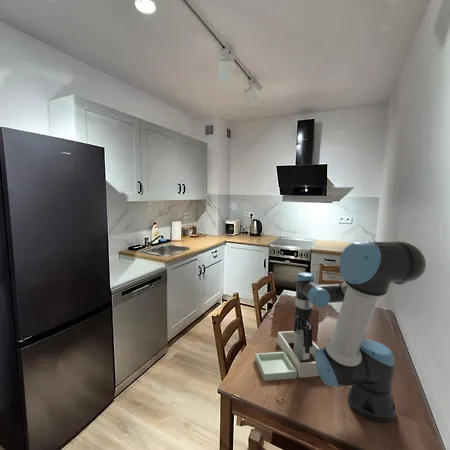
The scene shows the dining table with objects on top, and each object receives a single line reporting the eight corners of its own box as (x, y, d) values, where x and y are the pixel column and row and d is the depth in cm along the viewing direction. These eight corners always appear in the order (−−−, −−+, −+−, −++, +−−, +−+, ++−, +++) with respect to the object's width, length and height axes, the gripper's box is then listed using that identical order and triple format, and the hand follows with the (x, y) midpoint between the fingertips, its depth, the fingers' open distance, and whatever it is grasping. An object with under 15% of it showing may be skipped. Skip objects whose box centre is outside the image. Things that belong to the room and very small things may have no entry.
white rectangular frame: (329, 374, 111) (330, 361, 110) (298, 377, 108) (299, 364, 108) (303, 341, 136) (303, 330, 135) (277, 342, 134) (277, 331, 133)
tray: (296, 378, 108) (296, 371, 108) (264, 381, 106) (264, 374, 106) (284, 357, 122) (284, 351, 122) (255, 359, 120) (255, 353, 120)
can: (310, 362, 117) (312, 337, 116) (293, 360, 119) (295, 335, 118) (309, 353, 125) (310, 329, 124) (292, 351, 126) (294, 327, 125)
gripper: (322, 315, 110) (320, 366, 112) (301, 297, 130) (300, 341, 132) (306, 316, 109) (303, 367, 111) (287, 298, 129) (285, 342, 131)
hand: (301, 353), depth 122 cm, fingers closed on can, 7 cm apart
